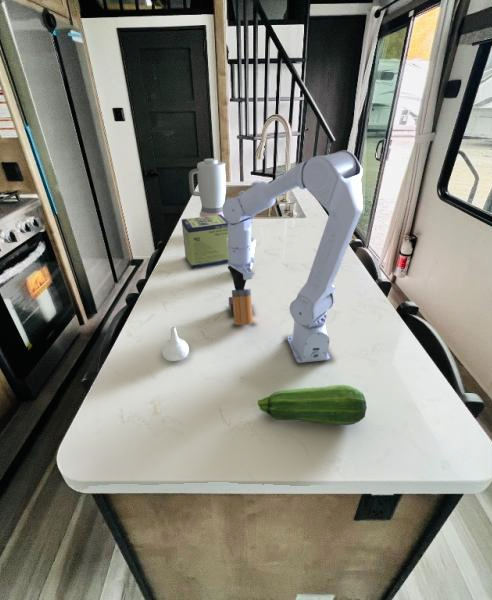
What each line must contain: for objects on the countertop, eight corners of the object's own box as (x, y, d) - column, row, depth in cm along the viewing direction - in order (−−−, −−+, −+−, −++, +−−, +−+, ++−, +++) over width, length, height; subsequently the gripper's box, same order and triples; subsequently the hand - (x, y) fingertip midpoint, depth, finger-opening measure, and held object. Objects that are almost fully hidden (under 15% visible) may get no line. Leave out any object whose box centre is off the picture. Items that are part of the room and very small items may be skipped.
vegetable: (372, 395, 55) (257, 388, 57) (369, 434, 56) (256, 427, 58) (360, 380, 63) (258, 375, 64) (358, 415, 63) (257, 409, 65)
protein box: (231, 262, 120) (230, 222, 112) (191, 269, 115) (187, 228, 107) (222, 251, 128) (221, 213, 120) (184, 258, 123) (180, 218, 115)
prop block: (229, 308, 94) (228, 297, 92) (249, 306, 95) (249, 295, 92) (230, 316, 90) (230, 304, 88) (251, 314, 91) (251, 302, 89)
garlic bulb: (163, 366, 74) (158, 339, 69) (162, 349, 79) (157, 323, 75) (191, 361, 75) (187, 334, 71) (187, 344, 80) (184, 318, 76)
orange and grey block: (231, 310, 92) (230, 281, 85) (248, 308, 93) (249, 280, 86) (235, 332, 85) (235, 303, 78) (254, 330, 86) (255, 301, 79)
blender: (222, 230, 149) (219, 156, 132) (233, 239, 139) (231, 160, 122) (190, 236, 143) (182, 159, 126) (198, 245, 134) (192, 163, 117)
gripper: (264, 254, 76) (262, 301, 84) (245, 232, 88) (245, 276, 95) (236, 257, 75) (236, 306, 82) (220, 235, 86) (222, 279, 94)
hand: (239, 290), depth 88 cm, fingers closed
